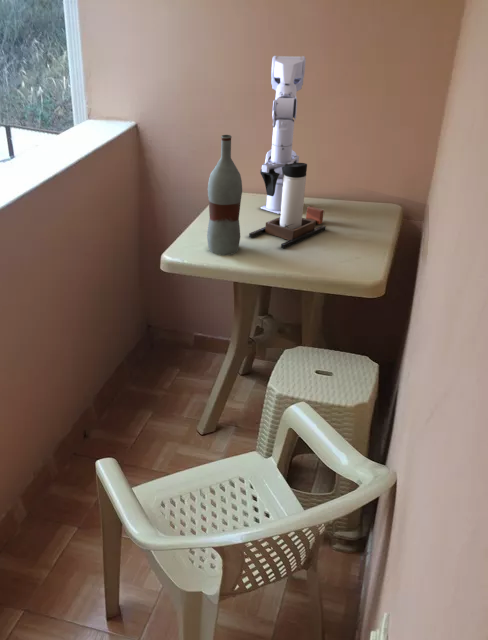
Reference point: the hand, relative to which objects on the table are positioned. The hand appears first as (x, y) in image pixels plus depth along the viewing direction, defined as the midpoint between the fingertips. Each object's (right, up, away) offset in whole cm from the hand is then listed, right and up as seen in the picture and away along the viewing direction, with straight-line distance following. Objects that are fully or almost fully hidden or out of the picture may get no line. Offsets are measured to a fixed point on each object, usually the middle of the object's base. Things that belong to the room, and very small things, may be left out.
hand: (278, 192), depth 192 cm
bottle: (-17, -19, -10) cm, 27 cm away
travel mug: (+3, -12, 0) cm, 12 cm away
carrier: (+6, -10, +2) cm, 12 cm away
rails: (+3, -12, -1) cm, 13 cm away
